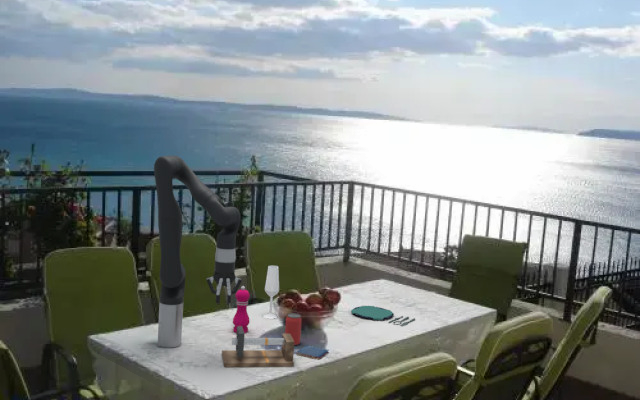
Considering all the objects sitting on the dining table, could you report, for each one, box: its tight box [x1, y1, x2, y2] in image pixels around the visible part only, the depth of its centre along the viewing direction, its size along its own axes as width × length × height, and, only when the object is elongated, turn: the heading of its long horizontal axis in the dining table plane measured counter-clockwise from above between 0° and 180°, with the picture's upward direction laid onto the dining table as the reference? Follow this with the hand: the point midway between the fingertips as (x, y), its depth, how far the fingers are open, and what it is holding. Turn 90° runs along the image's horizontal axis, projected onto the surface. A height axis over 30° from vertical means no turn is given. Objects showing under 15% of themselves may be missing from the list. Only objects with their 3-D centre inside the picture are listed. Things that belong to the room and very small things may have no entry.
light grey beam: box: [231, 337, 285, 346], centre depth 261 cm, size 20×2×2 cm, turn 102°
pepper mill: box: [232, 285, 251, 334], centre depth 295 cm, size 7×7×20 cm
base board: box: [221, 333, 295, 368], centre depth 261 cm, size 26×14×9 cm, turn 102°
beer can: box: [284, 312, 303, 346], centre depth 284 cm, size 7×7×12 cm
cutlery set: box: [350, 305, 416, 327], centre depth 333 cm, size 20×30×2 cm, turn 56°
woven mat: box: [295, 345, 330, 361], centre depth 274 cm, size 10×11×2 cm
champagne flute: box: [262, 265, 280, 320], centre depth 320 cm, size 7×7×24 cm
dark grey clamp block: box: [235, 326, 246, 357], centre depth 260 cm, size 2×9×9 cm, turn 12°
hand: (222, 304), depth 259 cm, fingers open, 3 cm apart
